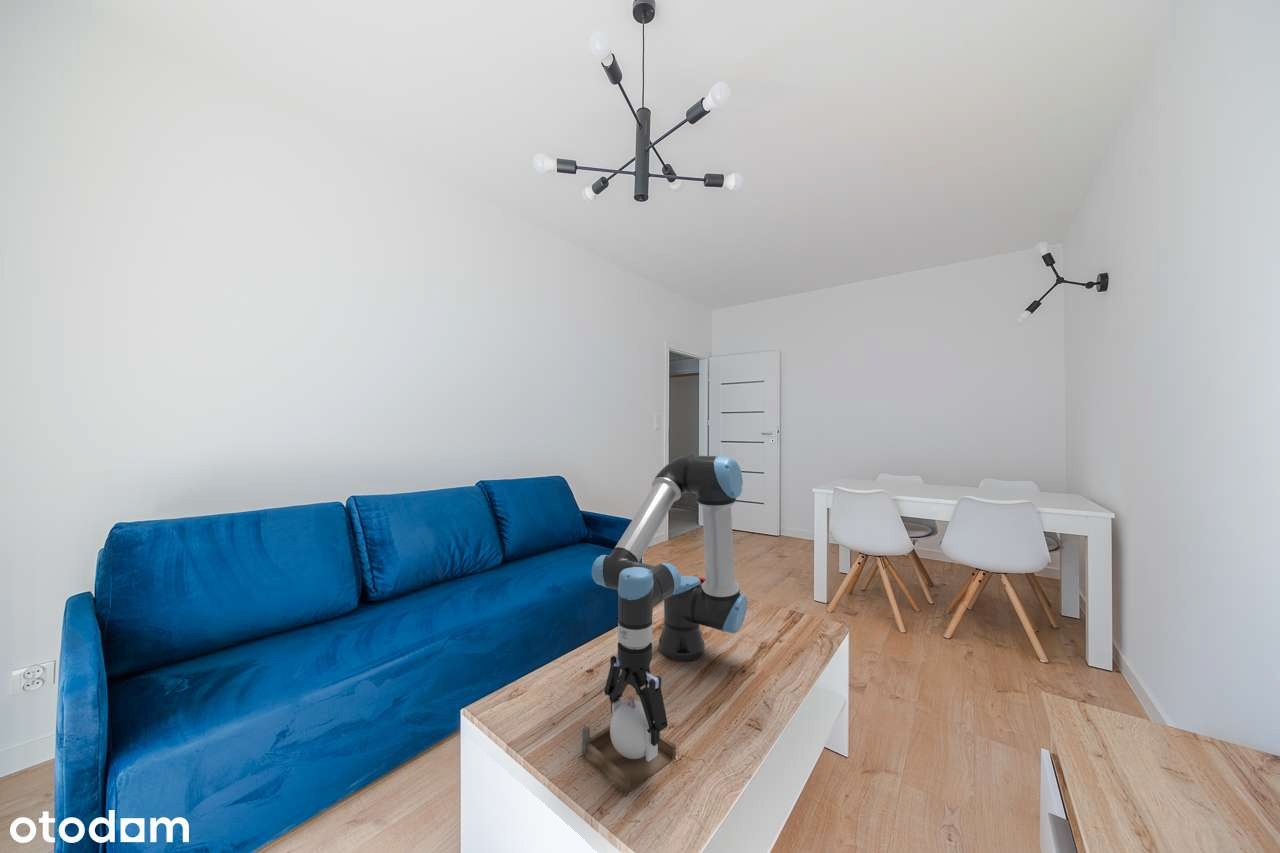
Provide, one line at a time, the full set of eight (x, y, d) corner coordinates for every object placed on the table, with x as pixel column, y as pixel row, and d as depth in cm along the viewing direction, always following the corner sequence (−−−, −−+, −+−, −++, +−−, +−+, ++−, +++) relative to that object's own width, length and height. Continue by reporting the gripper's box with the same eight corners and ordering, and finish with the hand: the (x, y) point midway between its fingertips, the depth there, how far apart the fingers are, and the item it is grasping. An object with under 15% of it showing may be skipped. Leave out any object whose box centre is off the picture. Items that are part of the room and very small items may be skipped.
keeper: (580, 755, 95) (581, 728, 96) (631, 724, 106) (631, 699, 106) (625, 797, 85) (625, 767, 85) (676, 758, 95) (676, 730, 95)
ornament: (602, 762, 91) (602, 705, 91) (621, 730, 101) (622, 679, 101) (647, 776, 88) (648, 717, 88) (663, 742, 97) (663, 689, 97)
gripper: (589, 628, 100) (588, 724, 100) (661, 669, 83) (659, 784, 83) (614, 619, 105) (613, 710, 105) (686, 656, 89) (685, 764, 88)
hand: (633, 743), depth 94 cm, fingers closed on ornament, 10 cm apart
